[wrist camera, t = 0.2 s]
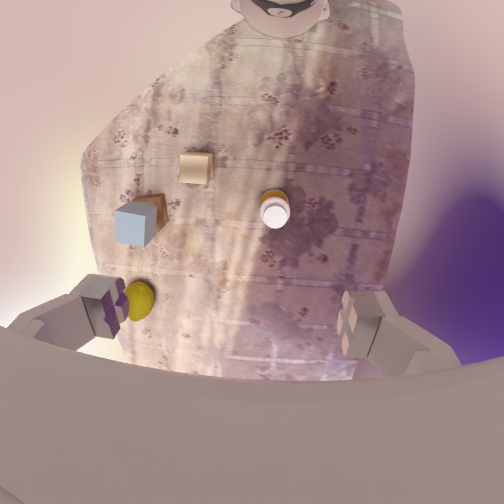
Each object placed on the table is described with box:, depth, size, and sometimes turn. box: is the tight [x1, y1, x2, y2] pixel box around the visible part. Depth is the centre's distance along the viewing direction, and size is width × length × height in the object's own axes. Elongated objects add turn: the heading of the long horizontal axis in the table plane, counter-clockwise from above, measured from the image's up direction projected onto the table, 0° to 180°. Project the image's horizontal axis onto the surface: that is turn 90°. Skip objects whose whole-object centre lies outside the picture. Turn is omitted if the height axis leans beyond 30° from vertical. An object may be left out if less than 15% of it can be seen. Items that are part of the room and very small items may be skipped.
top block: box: [115, 201, 157, 248], centre depth 50 cm, size 6×6×6 cm
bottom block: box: [133, 194, 169, 231], centre depth 55 cm, size 6×6×6 cm
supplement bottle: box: [260, 189, 290, 228], centre depth 52 cm, size 5×5×10 cm
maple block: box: [179, 151, 214, 184], centre depth 51 cm, size 5×5×6 cm
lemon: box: [124, 281, 154, 321], centre depth 64 cm, size 11×8×8 cm
